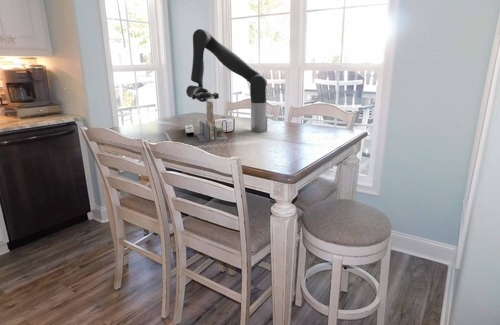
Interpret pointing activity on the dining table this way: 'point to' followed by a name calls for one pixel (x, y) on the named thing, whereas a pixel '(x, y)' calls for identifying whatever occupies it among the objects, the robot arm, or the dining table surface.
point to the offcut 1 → (219, 127)
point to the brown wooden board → (210, 118)
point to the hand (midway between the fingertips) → (208, 97)
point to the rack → (208, 133)
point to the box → (189, 129)
